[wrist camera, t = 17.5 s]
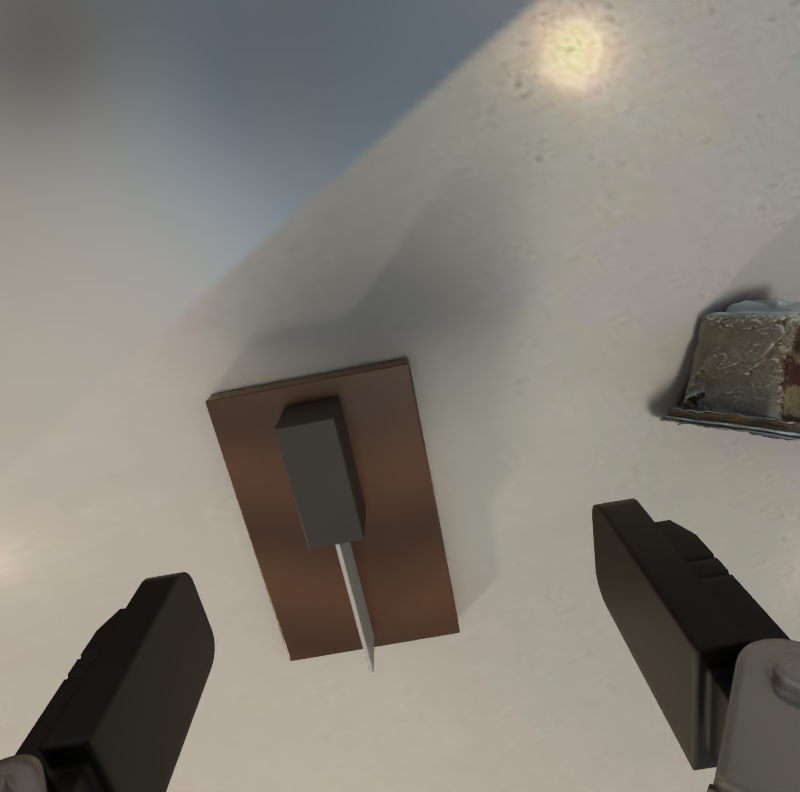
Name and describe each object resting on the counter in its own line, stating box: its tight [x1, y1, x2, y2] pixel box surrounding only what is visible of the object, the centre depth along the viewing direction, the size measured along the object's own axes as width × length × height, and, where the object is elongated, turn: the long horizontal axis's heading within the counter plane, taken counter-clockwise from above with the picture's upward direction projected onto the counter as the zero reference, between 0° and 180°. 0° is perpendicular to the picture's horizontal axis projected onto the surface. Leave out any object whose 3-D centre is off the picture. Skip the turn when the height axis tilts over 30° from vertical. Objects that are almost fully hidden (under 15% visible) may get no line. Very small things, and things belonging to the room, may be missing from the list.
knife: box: [274, 398, 374, 673], centre depth 30 cm, size 16×3×3 cm, turn 11°
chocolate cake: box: [660, 298, 800, 440], centre depth 29 cm, size 10×7×12 cm
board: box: [206, 358, 460, 661], centre depth 32 cm, size 18×11×1 cm, turn 11°
